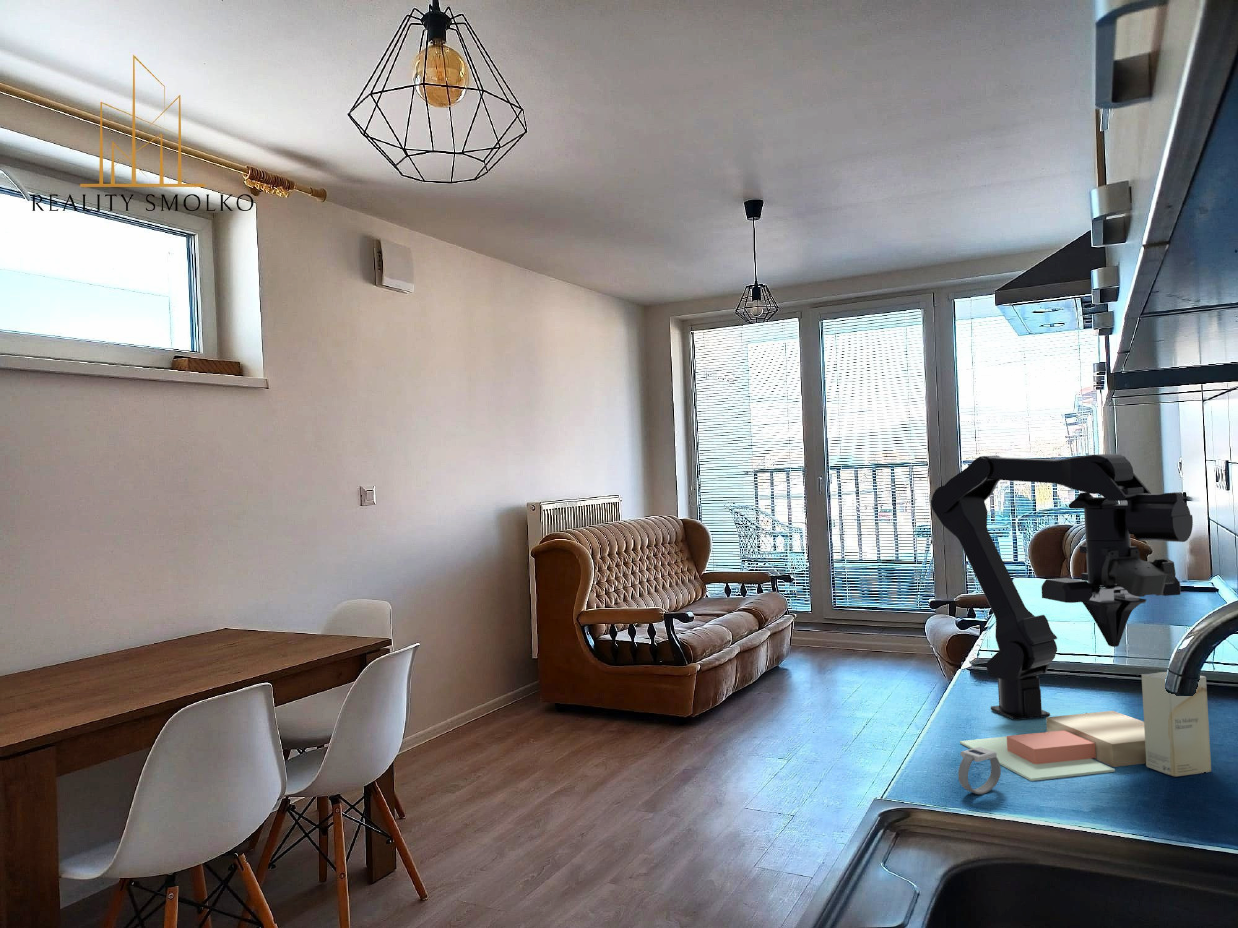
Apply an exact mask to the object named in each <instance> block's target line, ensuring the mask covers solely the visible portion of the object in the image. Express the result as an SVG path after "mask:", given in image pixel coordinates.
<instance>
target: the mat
mask: <svg viewBox="0 0 1238 928" xmlns="http://www.w3.org/2000/svg"><path fill="white" fill-rule="evenodd" d="M1007 736H1008V735H1005V736H999V737H998V736H997V737H996V736H995V737H988V738H987V737H986V738H979V739H969V740H968V739H967V740H959V744H960V745H962V746H965V747H966V748H968V749H969V750H970V749H974V748H977V747H981V748H985V749H988V750H991V751H994V752H996V754H997V756H996V757H997V759H998V761H999V763H1000V766H1002V767H1004V768H1006V769H1008V770H1009V771H1011V772H1014V773H1015V774H1017V775H1019V776H1021V777H1023V778H1024V779H1027V780H1028V781H1030V782H1034V781H1035V782H1036V781H1043V780H1052V779H1060V778H1061V779H1062V778H1069V777H1078V776H1086V775H1095V774H1104V773H1106V774H1107V773H1113V772H1114V773H1115V772H1116V769H1115V768H1114V767H1113V768H1112V766H1110V765H1107V764H1105V763H1103V762H1101V761H1098V760H1096V759H1094V758H1091V759H1081V760H1072V761H1062V762H1053V763H1043V764H1033V763H1031V762H1029V761H1027V760H1025V759H1023V758H1021V757H1019V756H1017V755H1016V754H1014V753H1012V752H1010V751H1008V750H1007Z"/></svg>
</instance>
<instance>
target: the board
mask: <svg viewBox="0 0 1238 928" xmlns="http://www.w3.org/2000/svg"><path fill="white" fill-rule="evenodd" d="M1045 720H1046V721H1045V722H1046V724H1045V725H1046V732H1053V731H1063V730H1065V731H1068V732H1070V733H1072V734H1075V735H1077V736H1079V737H1082V738H1084V739H1087V740H1089V741H1091V742H1094V743H1095V753H1096V758H1093V760H1095V761H1097V762H1100V763H1102V764H1104V765H1106V766H1109V767H1111V768H1112V767H1113V768H1116V767H1117V768H1118V767H1125V766H1132V765H1134V766H1135V765H1142V764H1143V765H1144V764H1145V765H1146V750H1145V730H1144V720H1140V719H1137V718H1134V717H1131V716H1129V715H1125V714H1124V713H1120V712H1117V711H1115V710H1108V711H1107V710H1106V711H1097V712H1089V713H1087V712H1086V713H1078V714H1068V715H1067V714H1066V715H1056V716H1048V717H1046V718H1045Z"/></svg>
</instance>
